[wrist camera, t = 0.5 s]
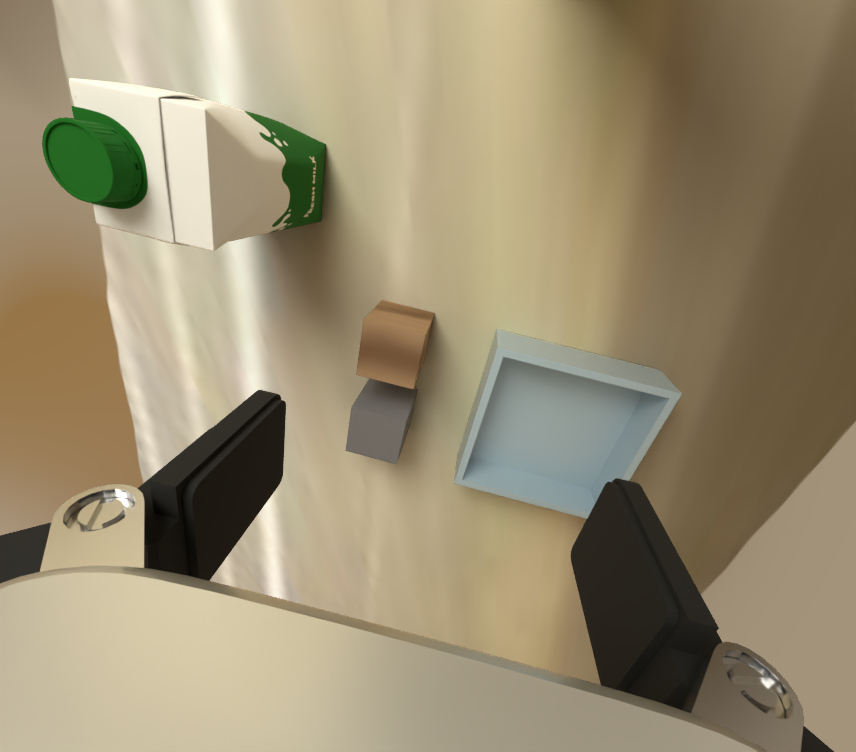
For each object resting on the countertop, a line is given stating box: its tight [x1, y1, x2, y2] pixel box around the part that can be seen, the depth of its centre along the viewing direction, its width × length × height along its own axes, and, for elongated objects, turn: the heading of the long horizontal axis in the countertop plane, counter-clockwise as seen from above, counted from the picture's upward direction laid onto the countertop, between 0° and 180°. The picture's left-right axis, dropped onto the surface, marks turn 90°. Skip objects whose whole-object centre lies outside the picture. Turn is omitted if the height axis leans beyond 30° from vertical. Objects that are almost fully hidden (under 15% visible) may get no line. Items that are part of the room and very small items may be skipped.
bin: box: [454, 329, 682, 519], centre depth 43 cm, size 18×18×5 cm
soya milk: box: [42, 78, 326, 251], centre depth 29 cm, size 9×9×20 cm
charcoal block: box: [346, 378, 417, 464], centre depth 45 cm, size 6×6×7 cm
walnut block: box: [356, 300, 435, 389], centre depth 41 cm, size 6×6×7 cm
